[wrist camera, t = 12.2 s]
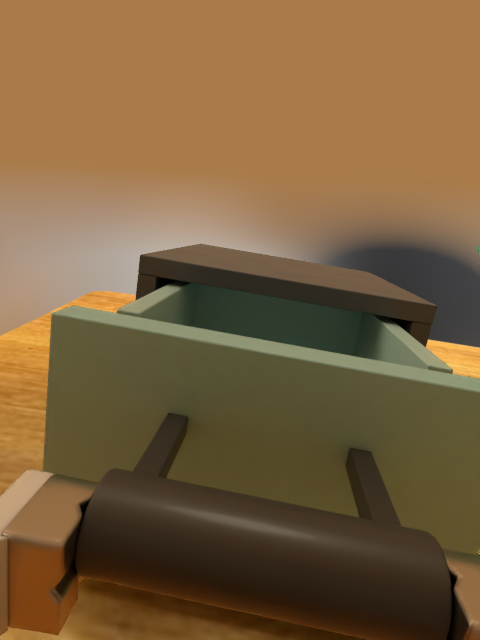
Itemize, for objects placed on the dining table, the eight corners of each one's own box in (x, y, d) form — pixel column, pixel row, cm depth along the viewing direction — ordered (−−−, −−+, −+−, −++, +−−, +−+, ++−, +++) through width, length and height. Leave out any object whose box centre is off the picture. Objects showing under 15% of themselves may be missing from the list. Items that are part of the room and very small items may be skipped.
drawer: (553, 918, 7) (749, 548, 6) (-107, 750, 8) (-125, 376, 6) (359, 428, 25) (390, 304, 24) (160, 390, 26) (176, 267, 24)
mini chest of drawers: (385, 494, 21) (437, 305, 18) (120, 441, 21) (139, 254, 19) (342, 385, 35) (368, 272, 33) (184, 356, 36) (200, 243, 34)
